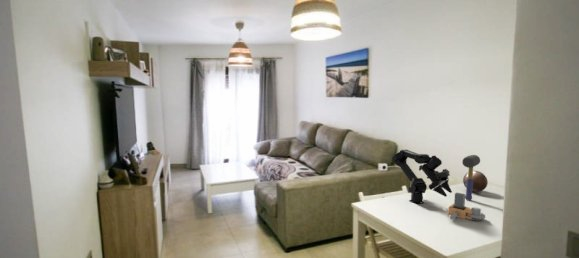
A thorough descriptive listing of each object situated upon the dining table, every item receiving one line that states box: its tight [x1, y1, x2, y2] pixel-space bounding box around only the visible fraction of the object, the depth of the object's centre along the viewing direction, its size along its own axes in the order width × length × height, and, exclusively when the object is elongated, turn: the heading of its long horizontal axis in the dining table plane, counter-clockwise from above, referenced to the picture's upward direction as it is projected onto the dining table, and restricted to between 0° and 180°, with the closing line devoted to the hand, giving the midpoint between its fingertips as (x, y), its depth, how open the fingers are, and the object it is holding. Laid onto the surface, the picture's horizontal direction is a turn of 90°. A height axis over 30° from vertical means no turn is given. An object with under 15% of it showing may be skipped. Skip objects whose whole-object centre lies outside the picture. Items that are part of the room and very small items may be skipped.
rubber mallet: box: [462, 154, 481, 201], centre depth 200 cm, size 12×8×30 cm, turn 130°
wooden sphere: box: [462, 170, 489, 193], centre depth 219 cm, size 15×15×15 cm
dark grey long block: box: [453, 192, 466, 210], centre depth 176 cm, size 4×4×12 cm
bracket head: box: [447, 203, 486, 222], centre depth 171 cm, size 17×16×6 cm
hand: (448, 194), depth 180 cm, fingers open, 9 cm apart
